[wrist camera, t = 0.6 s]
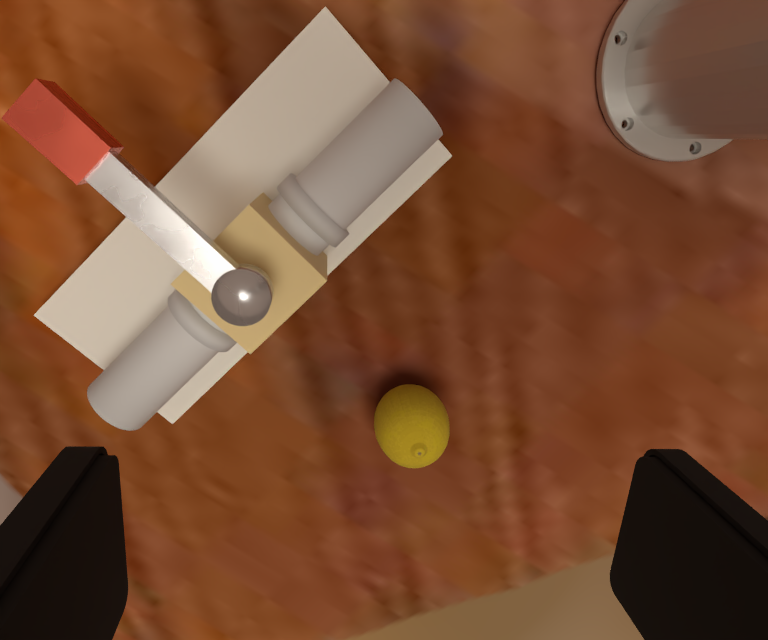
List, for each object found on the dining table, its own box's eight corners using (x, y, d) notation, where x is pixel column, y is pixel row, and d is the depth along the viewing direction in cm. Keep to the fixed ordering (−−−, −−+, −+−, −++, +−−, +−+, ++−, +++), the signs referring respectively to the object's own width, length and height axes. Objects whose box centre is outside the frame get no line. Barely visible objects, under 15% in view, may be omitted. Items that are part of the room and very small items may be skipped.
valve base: (325, 12, 36) (324, -34, 26) (446, 154, 39) (486, 161, 29) (47, 306, 40) (-45, 363, 30) (179, 411, 43) (135, 492, 34)
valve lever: (285, 290, 30) (282, 299, 29) (247, 327, 31) (242, 338, 29) (58, 77, 26) (39, 73, 24) (18, 123, 27) (-3, 122, 25)
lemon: (357, 390, 44) (363, 442, 37) (418, 356, 44) (437, 402, 36) (391, 441, 46) (403, 501, 39) (449, 409, 46) (473, 464, 38)
